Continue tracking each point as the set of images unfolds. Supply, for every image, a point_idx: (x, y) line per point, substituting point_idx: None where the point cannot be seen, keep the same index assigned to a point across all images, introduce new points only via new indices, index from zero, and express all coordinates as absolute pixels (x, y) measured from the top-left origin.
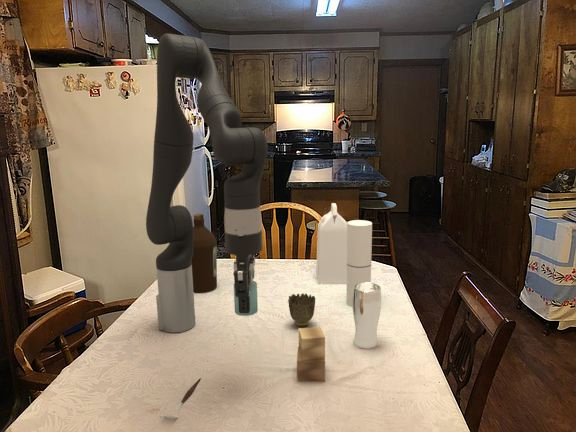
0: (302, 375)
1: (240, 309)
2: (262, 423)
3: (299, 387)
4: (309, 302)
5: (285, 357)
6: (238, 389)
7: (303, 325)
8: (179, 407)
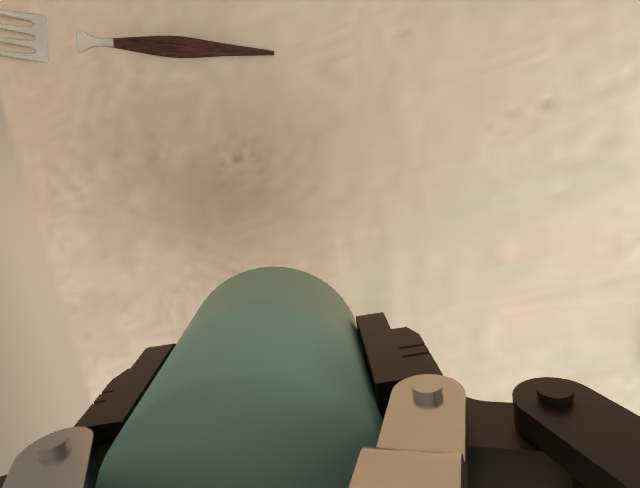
0: None
1: (110, 383)
2: (88, 330)
3: None
4: None
5: (459, 322)
6: (237, 214)
7: None
8: (88, 44)
